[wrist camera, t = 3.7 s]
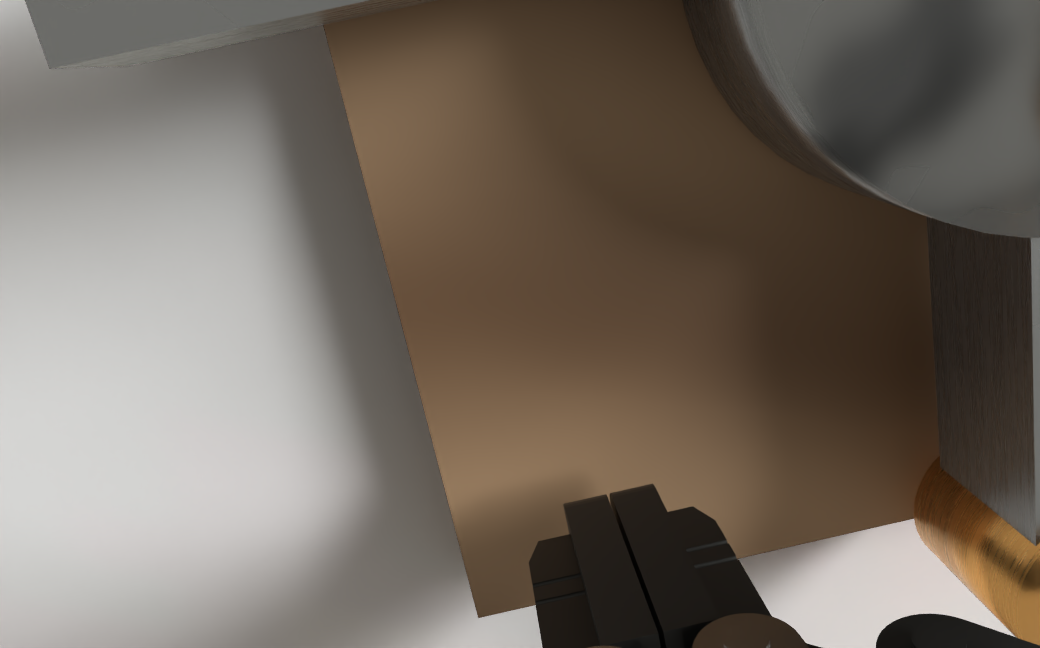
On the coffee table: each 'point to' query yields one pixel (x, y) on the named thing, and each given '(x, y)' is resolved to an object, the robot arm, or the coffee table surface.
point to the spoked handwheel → (843, 163)
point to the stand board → (629, 284)
